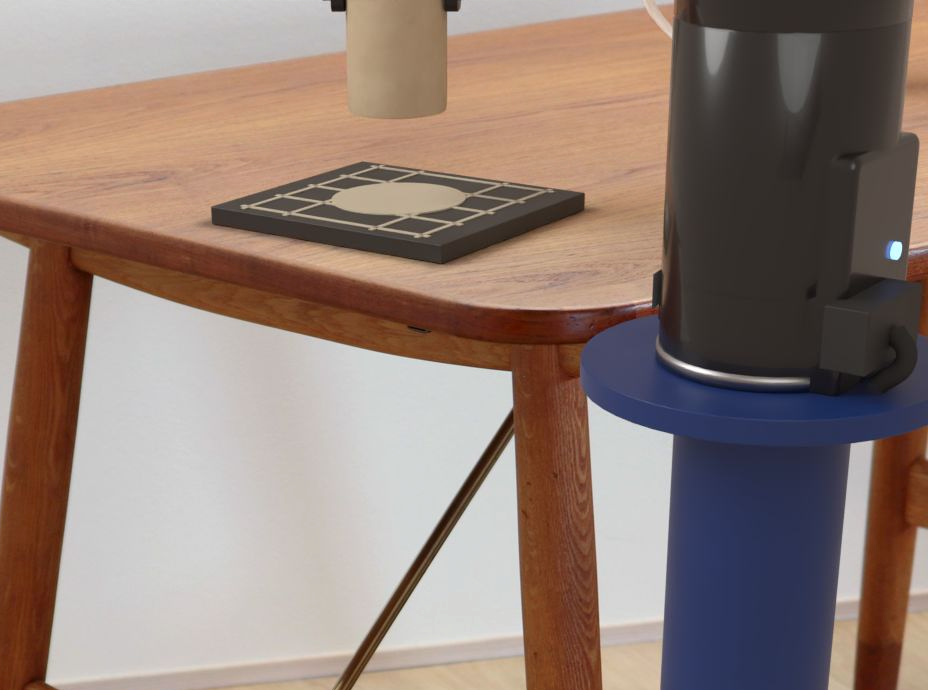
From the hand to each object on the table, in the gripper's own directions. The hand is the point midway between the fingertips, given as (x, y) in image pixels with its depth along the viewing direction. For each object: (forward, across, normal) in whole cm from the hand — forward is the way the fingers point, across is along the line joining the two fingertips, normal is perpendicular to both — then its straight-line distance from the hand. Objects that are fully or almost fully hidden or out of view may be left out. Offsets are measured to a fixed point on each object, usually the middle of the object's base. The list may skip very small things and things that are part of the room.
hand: (396, 8), depth 104 cm
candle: (+6, 0, 0) cm, 6 cm away
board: (+11, 0, 0) cm, 11 cm away
